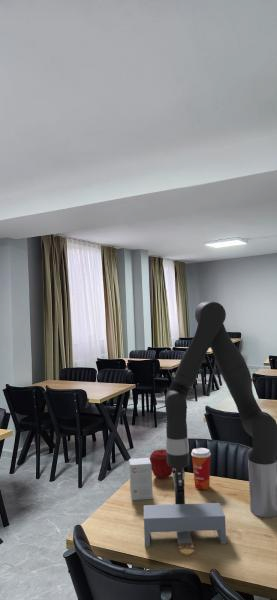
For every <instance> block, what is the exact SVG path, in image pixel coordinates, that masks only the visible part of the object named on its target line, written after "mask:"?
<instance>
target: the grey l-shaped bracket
mask: <svg viewBox="0 0 277 600" xmlns="http://www.w3.org/2000/svg"><path fill="white" fill-rule="evenodd" d="M185 498H186V497H185V493H184V495H183V504H186V499H185ZM174 503H175V504H177V500H176V487H175V486H174ZM176 537H177V544H178V546H179V545H180V544H182V543H191V544H192V545H193V540H192V533H191V531H176Z"/></svg>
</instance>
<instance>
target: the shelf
mask: <svg viewBox="0 0 277 600" xmlns="http://www.w3.org/2000/svg"><path fill="white" fill-rule="evenodd" d="M143 525H144V526H143V531H144V533H143V534H144V536H143V537H144V547H150V546H151V544H150V543H151V538H150V537H151V536H150V535H151V534H150V533H169V532H171V533H173V532H175V533H176V532H177V531H190V532H202V531H216V533H217V536H218V538H219V542H220V544H221V545H227V531H226V530H227V529H226V528H227V526H226V515H225V513H224V510H223V508H222V505H221V503H220V502H210V503H207V502H205V503H203V502H202V503H185V504H172V503H171V504H148V505H143Z"/></svg>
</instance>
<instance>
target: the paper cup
mask: <svg viewBox="0 0 277 600" xmlns="http://www.w3.org/2000/svg"><path fill="white" fill-rule="evenodd" d="M190 455H191V459H192V469H193V479H194V481H193V482H194V487H195V489H197V490H199V491H200V490H201V491H206V490H209V489H210V482H211V481H210V480H211V479H210V478H211V471H210V469H211V455H212V453H211V452H210V449H208V448H205V447H198V448H193V449H192V450H191V454H190Z"/></svg>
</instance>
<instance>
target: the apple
mask: <svg viewBox="0 0 277 600" xmlns="http://www.w3.org/2000/svg"><path fill="white" fill-rule="evenodd" d="M149 459H150V462H151V466H152V475H153V476H155V477H156V478H157V479H159V480H165V479H168V478H170V476H171V475H173V473H172V469H174V468H172V467H170V466H168V465H167V452H166V449H161V448H160V449H156V450H153V451H152V452H151V454H150V456H149Z"/></svg>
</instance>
